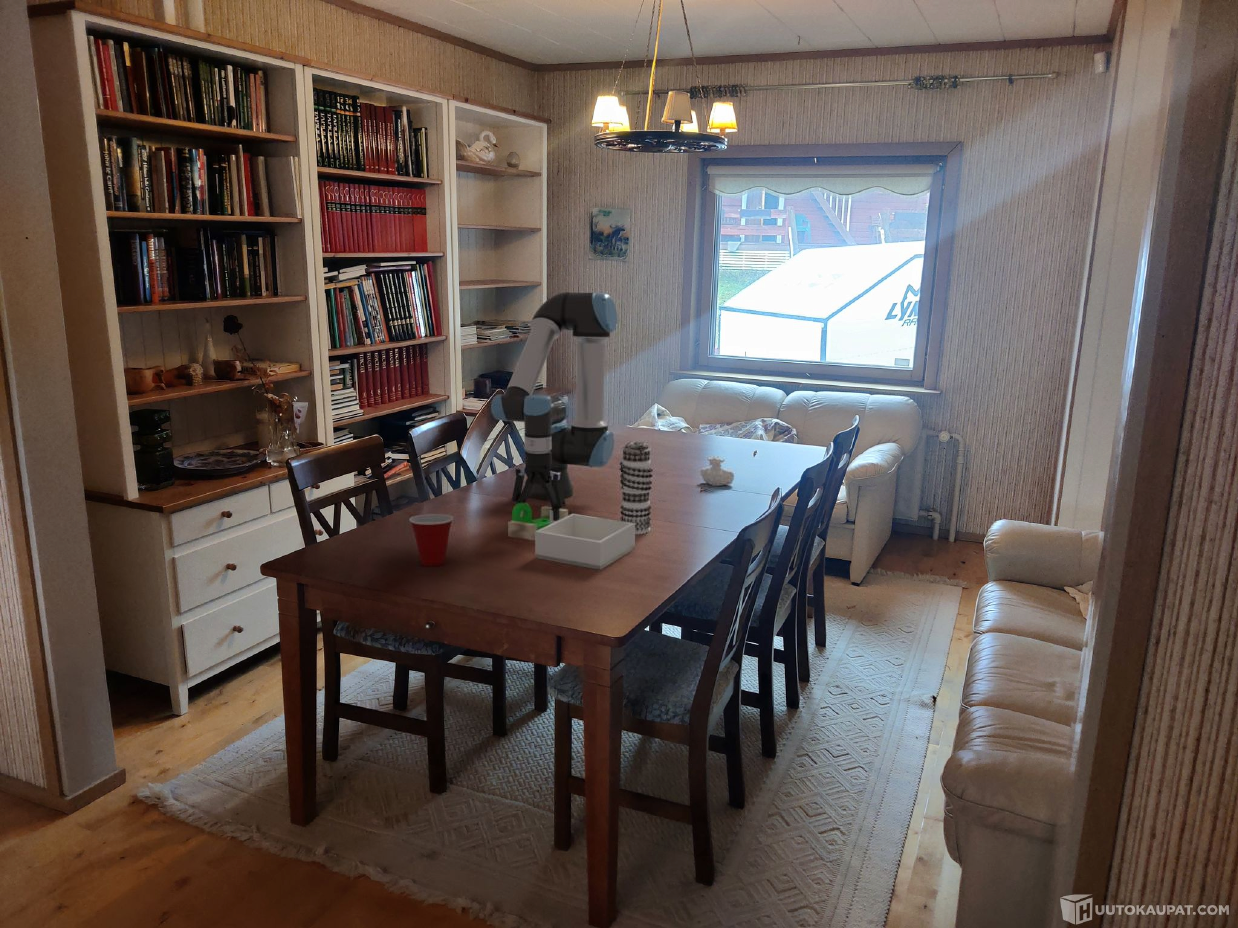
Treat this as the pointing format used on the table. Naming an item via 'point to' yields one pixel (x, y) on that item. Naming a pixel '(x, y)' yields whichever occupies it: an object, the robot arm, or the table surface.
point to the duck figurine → (717, 473)
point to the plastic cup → (431, 537)
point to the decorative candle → (636, 486)
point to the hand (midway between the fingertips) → (538, 528)
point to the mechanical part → (528, 516)
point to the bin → (585, 541)
